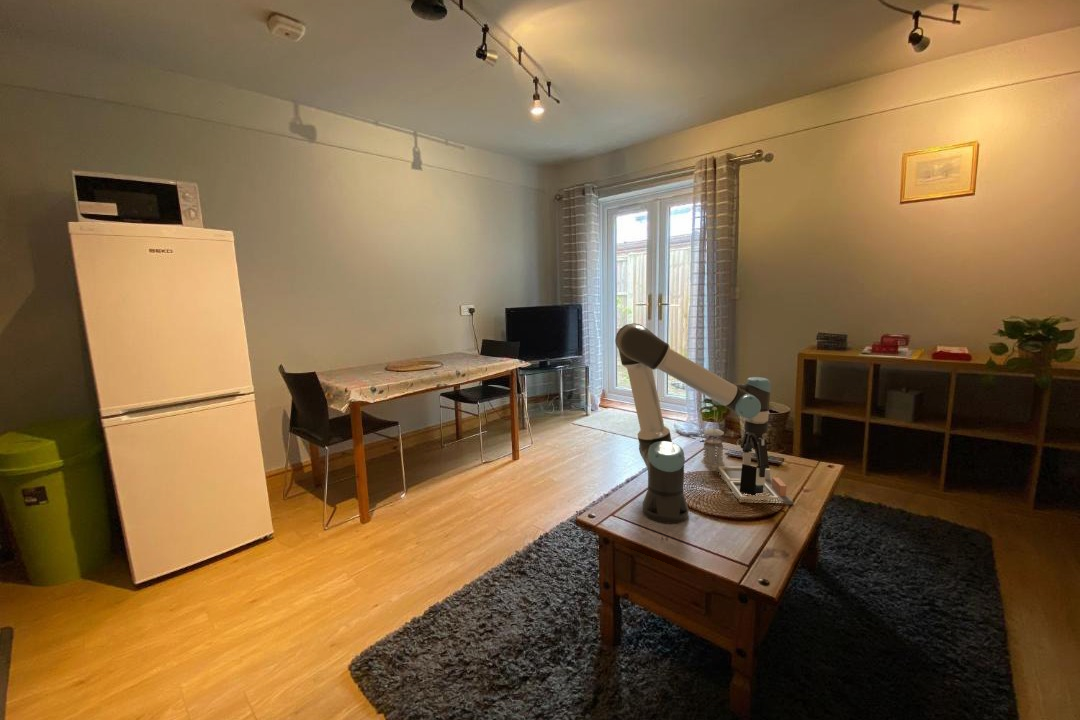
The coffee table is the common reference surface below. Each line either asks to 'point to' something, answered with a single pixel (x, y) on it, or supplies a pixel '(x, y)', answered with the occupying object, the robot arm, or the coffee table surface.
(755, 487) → the speaker
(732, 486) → the dock board
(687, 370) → the robot arm
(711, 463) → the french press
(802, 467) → the coffee table surface
